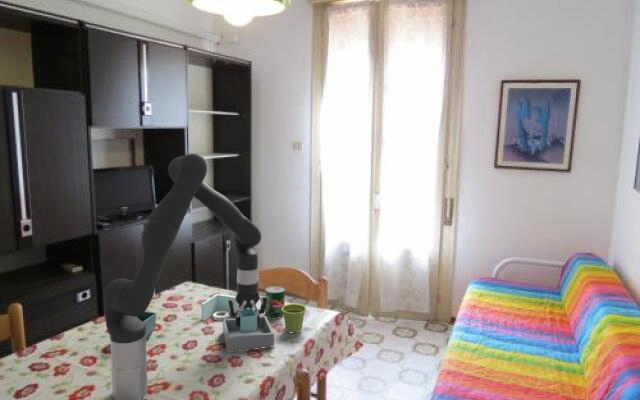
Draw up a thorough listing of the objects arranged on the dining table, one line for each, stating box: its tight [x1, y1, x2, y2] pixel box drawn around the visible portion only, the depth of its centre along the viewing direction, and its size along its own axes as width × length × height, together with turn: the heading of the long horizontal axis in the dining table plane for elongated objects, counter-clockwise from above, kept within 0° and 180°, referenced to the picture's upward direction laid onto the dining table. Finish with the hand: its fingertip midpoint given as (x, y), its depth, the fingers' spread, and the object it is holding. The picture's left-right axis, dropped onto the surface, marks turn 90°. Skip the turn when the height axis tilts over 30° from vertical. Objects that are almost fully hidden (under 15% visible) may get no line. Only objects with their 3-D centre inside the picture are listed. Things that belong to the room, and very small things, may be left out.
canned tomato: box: [264, 285, 286, 319], centre depth 188 cm, size 8×8×11 cm
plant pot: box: [282, 303, 307, 333], centre depth 174 cm, size 9×9×9 cm
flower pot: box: [137, 310, 157, 341], centre depth 163 cm, size 9×9×9 cm
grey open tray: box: [222, 315, 275, 353], centre depth 166 cm, size 16×16×5 cm
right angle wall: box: [200, 293, 239, 322], centre depth 185 cm, size 12×12×8 cm
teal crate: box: [239, 307, 257, 334], centre depth 165 cm, size 8×6×6 cm
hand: (247, 325), depth 165 cm, fingers closed on teal crate, 5 cm apart
